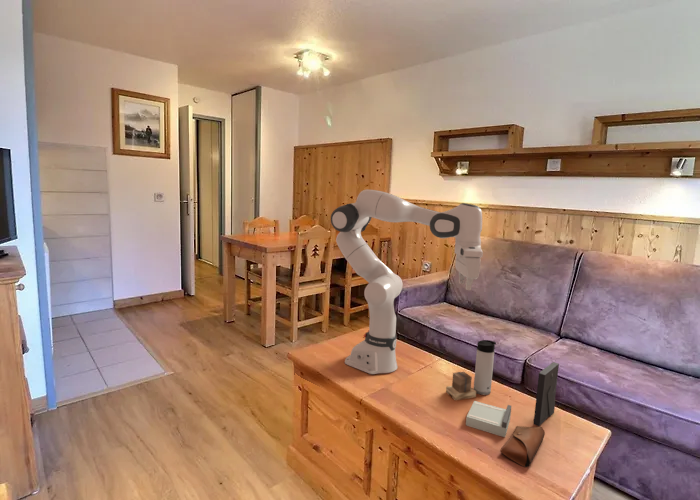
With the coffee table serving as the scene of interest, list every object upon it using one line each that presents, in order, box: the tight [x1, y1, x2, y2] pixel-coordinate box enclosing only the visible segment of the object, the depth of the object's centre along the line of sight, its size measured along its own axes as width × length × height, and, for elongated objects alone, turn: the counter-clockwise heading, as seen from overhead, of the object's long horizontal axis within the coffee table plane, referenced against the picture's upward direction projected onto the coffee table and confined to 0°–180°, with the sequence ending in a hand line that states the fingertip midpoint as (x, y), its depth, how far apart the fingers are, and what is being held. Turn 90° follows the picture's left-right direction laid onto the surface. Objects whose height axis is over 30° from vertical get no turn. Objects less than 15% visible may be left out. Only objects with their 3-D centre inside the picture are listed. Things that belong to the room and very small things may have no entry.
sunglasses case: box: [499, 425, 546, 468], centre depth 116 cm, size 18×7×7 cm
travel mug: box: [473, 339, 497, 396], centre depth 149 cm, size 6×7×20 cm
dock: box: [465, 400, 512, 438], centre depth 129 cm, size 12×12×5 cm
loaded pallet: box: [445, 371, 477, 401], centre depth 147 cm, size 9×6×8 cm, turn 109°
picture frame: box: [533, 362, 560, 427], centre depth 132 cm, size 13×2×18 cm, turn 135°
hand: (464, 286), depth 143 cm, fingers open, 8 cm apart
